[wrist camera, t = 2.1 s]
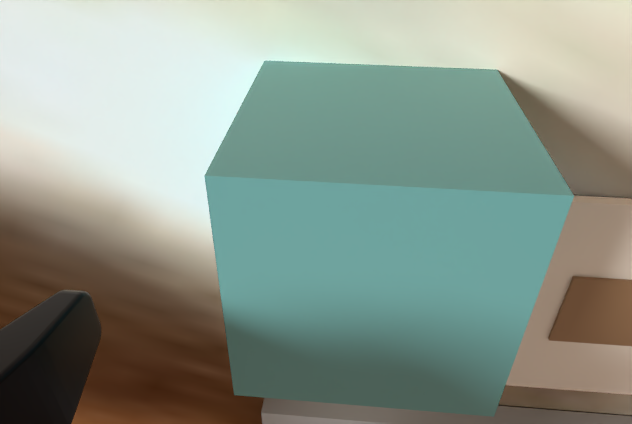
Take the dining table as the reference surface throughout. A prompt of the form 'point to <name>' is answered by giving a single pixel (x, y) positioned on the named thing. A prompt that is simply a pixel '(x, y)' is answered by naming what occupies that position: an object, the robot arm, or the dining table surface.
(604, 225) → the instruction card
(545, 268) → the teal cube
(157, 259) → the dining table surface
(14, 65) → the dining table surface
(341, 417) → the plate
